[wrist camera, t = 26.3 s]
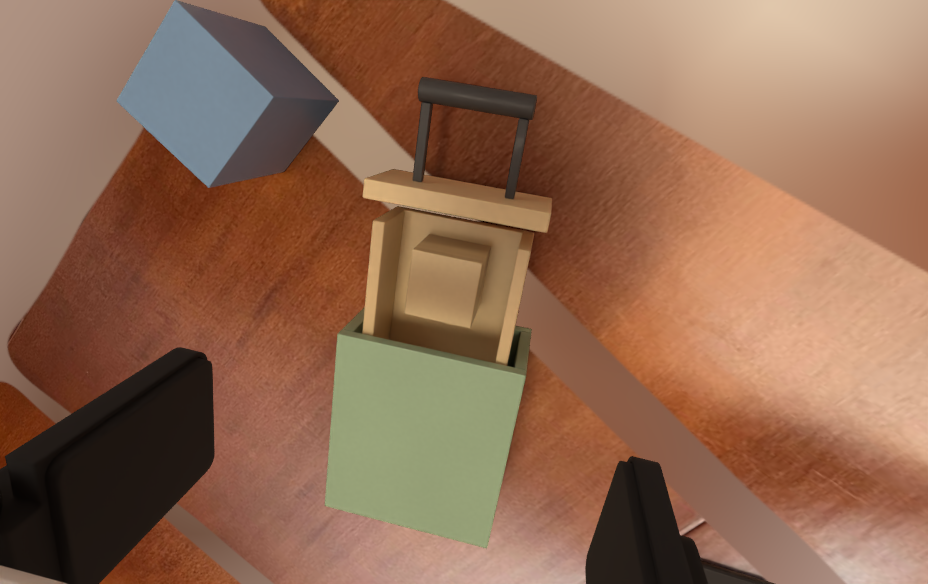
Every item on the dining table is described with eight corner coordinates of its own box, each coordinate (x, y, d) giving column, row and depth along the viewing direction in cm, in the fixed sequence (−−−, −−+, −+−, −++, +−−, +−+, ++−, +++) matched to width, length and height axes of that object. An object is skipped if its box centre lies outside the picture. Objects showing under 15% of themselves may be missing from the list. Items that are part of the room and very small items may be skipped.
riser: (265, 26, 35) (174, -1, 27) (339, 100, 36) (273, 96, 28) (213, 104, 38) (115, 100, 30) (283, 172, 39) (208, 188, 30)
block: (429, 233, 36) (412, 248, 32) (491, 246, 36) (482, 263, 32) (420, 291, 38) (403, 314, 34) (480, 304, 37) (470, 329, 33)
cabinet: (375, 295, 41) (337, 333, 34) (531, 328, 39) (526, 375, 32) (360, 445, 46) (324, 506, 39) (498, 479, 44) (486, 548, 37)
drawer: (402, 74, 34) (373, 67, 29) (573, 102, 33) (576, 100, 27) (375, 338, 41) (347, 372, 36) (515, 369, 40) (508, 409, 34)
